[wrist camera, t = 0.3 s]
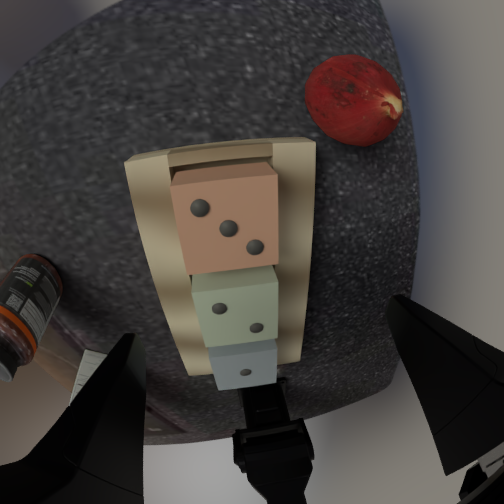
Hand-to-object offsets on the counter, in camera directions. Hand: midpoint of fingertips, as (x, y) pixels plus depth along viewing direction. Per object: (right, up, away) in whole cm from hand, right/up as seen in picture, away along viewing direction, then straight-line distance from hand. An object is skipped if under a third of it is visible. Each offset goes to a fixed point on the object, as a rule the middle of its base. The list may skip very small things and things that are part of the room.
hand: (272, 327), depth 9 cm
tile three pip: (-2, +5, +9) cm, 11 cm away
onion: (+5, +13, +8) cm, 16 cm away
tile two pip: (-2, -1, +13) cm, 13 cm away
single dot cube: (-2, -7, +16) cm, 18 cm away
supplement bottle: (-21, 0, +12) cm, 24 cm away
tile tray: (-2, +1, +15) cm, 15 cm away
